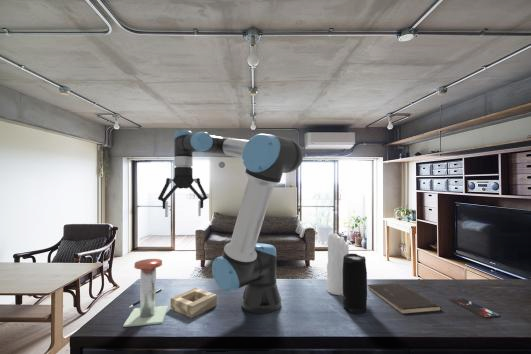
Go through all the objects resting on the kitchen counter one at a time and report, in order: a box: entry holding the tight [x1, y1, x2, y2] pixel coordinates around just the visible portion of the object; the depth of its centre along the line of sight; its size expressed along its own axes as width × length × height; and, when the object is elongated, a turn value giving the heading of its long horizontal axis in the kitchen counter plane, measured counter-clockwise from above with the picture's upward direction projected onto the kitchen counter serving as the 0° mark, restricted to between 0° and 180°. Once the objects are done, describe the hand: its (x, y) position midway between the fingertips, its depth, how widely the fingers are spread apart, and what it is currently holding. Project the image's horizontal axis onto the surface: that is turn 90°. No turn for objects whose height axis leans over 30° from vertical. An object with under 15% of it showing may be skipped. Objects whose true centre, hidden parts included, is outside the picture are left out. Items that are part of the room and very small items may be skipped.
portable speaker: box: [342, 253, 368, 315], centre depth 99 cm, size 9×9×20 cm
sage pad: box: [123, 305, 169, 328], centre depth 94 cm, size 12×12×1 cm
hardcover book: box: [367, 282, 442, 314], centre depth 108 cm, size 16×23×2 cm
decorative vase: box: [325, 232, 350, 296], centre depth 117 cm, size 11×11×25 cm
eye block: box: [170, 287, 218, 319], centre depth 101 cm, size 12×12×4 cm
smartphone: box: [448, 297, 501, 319], centre depth 100 cm, size 7×1×15 cm
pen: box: [128, 288, 165, 309], centre depth 109 cm, size 1×19×1 cm, turn 162°
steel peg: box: [133, 258, 163, 318], centre depth 95 cm, size 9×9×18 cm
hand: (183, 216), depth 115 cm, fingers open, 13 cm apart
